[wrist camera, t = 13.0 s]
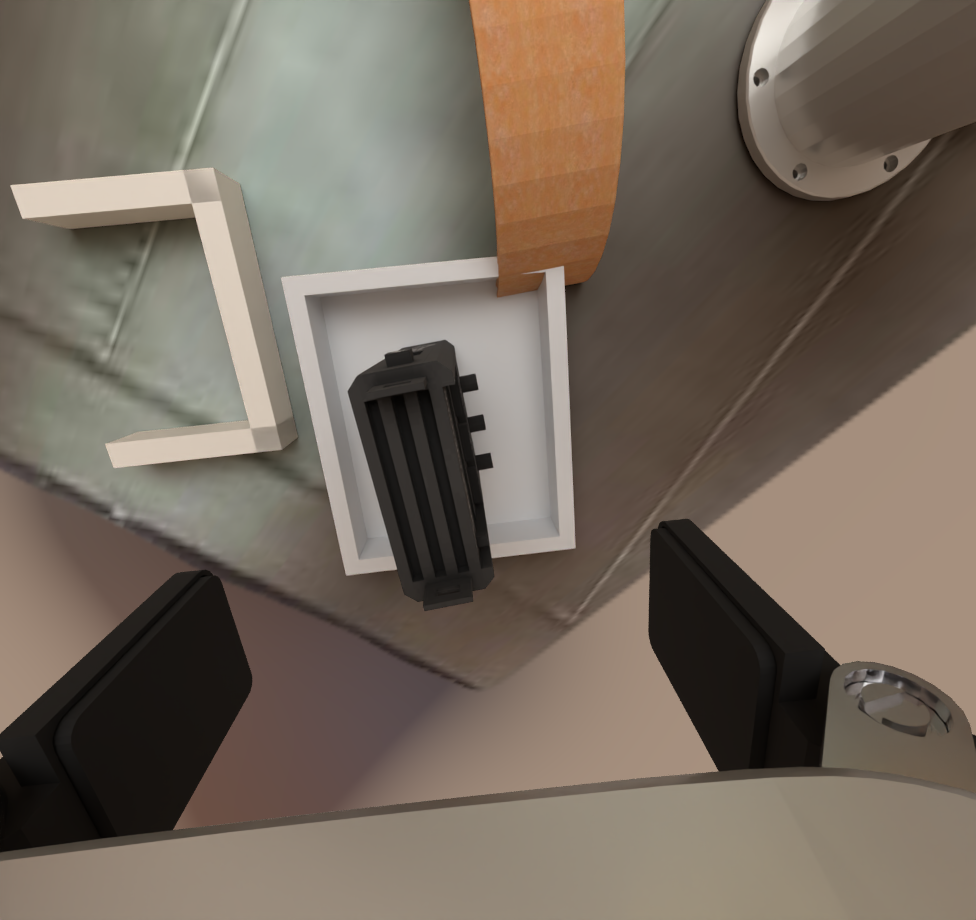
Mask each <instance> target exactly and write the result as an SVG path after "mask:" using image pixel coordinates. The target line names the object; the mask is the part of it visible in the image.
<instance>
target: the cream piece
mask: <svg viewBox="0 0 976 920" xmlns="http://www.w3.org/2000/svg"><path fill="white" fill-rule="evenodd" d="M10 186H11V188H12V191H13V194H14V197H15V199H16V202H17V205H18V207H19V210H20V213H21V216H22V218H23V219H26V220H31V221H35V222H40V223H44V224H49V225H53V226H58V227H62V228H67V229H77V228H88V227H99V226H110V225H121V224H131V223H142V222H153V221H164V220H175V219H186V218H196V221H197V225H198V229H199V233H200V237H201V240H202V244H203V248H204V252H205V256H206V260H207V263H208V267H209V271H210V275H211V279H212V282H213V286H214V290H215V294H216V298H217V302H218V305H219V309H220V313H221V317H222V321H223V324H224V328H225V332H226V336H227V340H228V344H229V347H230V351H231V355H232V359H233V363H234V366H235V370H236V374H237V378H238V382H239V386H240V389H241V393H242V397H243V401H244V405H245V408H246V412H247V416H248V420H244V421H235V422H226V423H216V424H207V425H197V426H188V427H179V428H169V429H160V430H150V431H141V432H137V433H134V434H131V435H129V436H126V437H123V438H120V439H118V440H115V441H112V442H109V443H107V444H105V445H106V448H107V450H108V453H109V456H110V459H111V461H112V464H113V467H114V468H119V467H128V466H137V465H146V464H155V463H165V462H174V461H183V460H192V459H201V458H211V457H220V456H229V455H238V454H247V453H256V452H266V451H275V450H282V449H284V448H285V447H286V446H287V445H289V444H290V443H291V442H293V441H294V440H295V439H297V438H298V434H297V430H296V425H295V421H294V417H293V412H292V408H291V404H290V399H289V395H288V391H287V386H286V382H285V378H284V373H283V369H282V365H281V360H280V356H279V352H278V347H277V343H276V339H275V334H274V330H273V326H272V321H271V317H270V313H269V308H268V304H267V300H266V295H265V291H264V287H263V282H262V278H261V274H260V269H259V265H258V261H257V256H256V252H255V248H254V243H253V239H252V235H251V230H250V226H249V222H248V217H247V213H246V209H245V204H244V200H243V196H242V191H241V187H240V184H239V183H238V182H236V181H235V180H233V179H231V178H230V177H228V176H226V175H225V174H223V173H221V172H220V171H218V170H216V169H215V168H202V169H191V170H180V171H168V172H157V173H145V174H134V175H123V176H111V177H100V178H89V179H77V180H66V181H55V182H43V183H32V184H20V185H10Z"/></svg>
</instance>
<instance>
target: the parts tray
mask: <svg viewBox="0 0 976 920" xmlns="http://www.w3.org/2000/svg"><path fill="white" fill-rule="evenodd" d="M542 272H545V273H544V277H543V280H542V282H541V284H540V286H539V288H538V290H535V291H529V292H524V293H519V294H514V295H509V296H503V297H498V298H497V289H498V288H497V287H496V279H497V278H498V277H499V275H498V263H497V256H496V257H485V258H475V259H464V260H454V261H444V262H433V263H423V264H412V265H402V266H392V267H381V268H371V269H361V270H350V271H340V272H329V273H319V274H309V275H298V276H288V277H281V280H282V284H283V289H284V293H285V298H286V303H287V307H288V312H289V316H290V321H291V325H292V330H293V335H294V339H295V344H296V348H297V353H298V358H299V362H300V367H301V371H302V376H303V380H304V385H305V390H306V394H307V399H308V403H309V408H310V413H311V417H312V422H313V426H314V431H315V435H316V440H317V445H318V449H319V454H320V458H321V463H322V467H323V472H324V477H325V481H326V486H327V490H328V495H329V500H330V504H331V509H332V513H333V518H334V522H335V527H336V532H337V536H338V541H339V545H340V550H341V555H342V559H343V564H344V568H345V573H346V575H354V574H363V573H371V572H380V571H388V570H397V567H396V564H395V560H394V556H393V553H392V549H391V546H390V542H389V539H388V535H387V531H386V528H385V524H384V521H383V517H382V514H381V510H380V506H379V503H378V499H377V496H376V492H375V489H374V485H373V481H372V478H371V474H370V471H369V467H368V464H367V460H366V456H365V453H364V449H363V446H362V442H361V439H360V435H359V431H358V428H357V424H356V421H355V417H354V413H353V410H352V406H351V403H350V399H349V396H348V392H347V391H348V390H349V388H350V386H351V385H352V383H353V381H354V380H355V378H356V376H357V375H359V374H360V373H362V372H364V371H365V370H367V369H369V368H370V367H372V366H374V365H375V364H377V363H378V362H380V361H382V360H383V359H385V356H384V355H385V354H386V353H389V352H394V351H398V350H400V349H401V348H405V347H410V346H415V345H420V344H426V343H431V342H436V341H441V340H447V341H448V342H450V343H451V344H452V345H454V348H455V353H456V361H457V366H458V371H459V376H465V375H470V374H476V378H477V384H478V389H479V390H476V391H471V392H466V393H463V396H464V401H465V406H466V411H467V416H468V417H471V416H476V415H481V414H483V416H484V421H485V426H486V430H483V431H477V432H472V433H471V436H472V441H473V446H474V451H475V455H480V454H485V453H491V458H492V463H493V468H490V469H485V470H479V474H480V481H481V488H482V495H483V502H484V509H485V515H486V522H487V529H488V536H489V543H490V550H491V557H492V558H498V557H506V556H515V555H523V554H532V553H540V552H549V551H557V550H566V549H574V548H575V524H574V499H573V475H572V451H571V427H570V402H569V378H568V354H567V329H566V305H565V281H564V266H561V267H555V268H550V269H545V270H540V271H535V272H530V273H542ZM530 273H524V274H530Z"/></svg>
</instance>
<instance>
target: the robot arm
mask: <svg viewBox="0 0 976 920" xmlns="http://www.w3.org/2000/svg"><path fill="white" fill-rule="evenodd" d="M737 98H738V115H739V121H740V125H741V130H742V134H743V138H744V141H745V143H746V146H747V148H748V150H749V152H750V155H751V157H752V159H753V161H754V162H755V163H756V165H757V166H758V168H759V169H760V170H761V172H762V173H763V175H764V176H765V177H767V178H768V179H769V180H770V181H771V182H772V183H773V184H774V185H776V186H777V187H778V188H780V189H782V190H783V191H785V192H787V193H789V194H791V195H793V196H796V197H799V198H803V199H807V200H811V201H832V200H837V199H842V198H847V197H851V196H854V195H857V194H860V193H863V192H866V191H869V190H871V189H873V188H875V187H877V186H879V185H881V184H883V183H885V182H886V181H888V180H890V179H891V178H893V177H894V176H895V175H896V174H898V173H899V172H900V171H902V170H903V169H904V168H906V167H907V166H908V165H909V164H910V163H911V162H912V161H913V160H914V159H915V158H916V157H917V156H918V155H919V154H920V153H921V152H922V151H923V150H924V148H925V147H926V146H927V144H928V143H929V142H930V140H931V139H932V138H934V137H936V136H939V135H942V134H944V133H947V132H950V131H952V130H955V129H958V128H960V127H963V126H966V125H969V124H971V123H974V122H976V0H766V2H765V3H764V5H763V7H762V8H761V10H760V12H759V13H758V15H757V17H756V19H755V22H754V24H753V26H752V29H751V31H750V34H749V36H748V39H747V41H746V45H745V48H744V52H743V56H742V60H741V64H740V70H739V80H738V90H737ZM649 586H650V587H649V588H650V589H649V639H650V643H651V646H652V649H653V651H654V653H655V654H656V656H657V658H658V660H659V662H660V664H661V665H662V667H663V669H664V671H665V673H666V675H667V676H668V678H669V680H670V682H671V684H672V686H673V688H674V689H675V691H676V693H677V695H678V697H679V698H680V701H681V702H682V704H683V706H684V708H685V710H686V712H687V713H688V715H689V717H690V719H691V721H692V723H693V725H694V726H695V728H696V730H697V732H698V733H699V736H700V737H701V739H702V741H703V743H704V745H705V747H706V749H707V750H708V752H709V754H710V756H711V758H712V760H713V761H714V763H715V765H716V767H717V769H718V771H719V772H708V773H696V774H685V775H675V776H662V777H651V778H640V779H630V780H621V781H611V782H601V783H592V784H582V785H573V786H563V787H555V788H544V789H535V790H525V791H516V792H506V793H497V794H487V795H478V796H470V797H461V798H451V799H442V800H433V801H424V802H415V803H406V804H397V805H389V806H379V807H370V808H362V809H352V810H343V811H335V812H325V813H317V814H309V815H299V816H290V817H282V818H272V819H264V820H256V821H248V822H239V823H230V824H221V825H213V826H205V827H196V828H188V829H179V830H173V829H174V827H175V825H176V823H177V821H178V820H179V818H180V816H181V814H182V813H183V811H184V809H185V807H186V805H187V804H188V802H189V800H190V798H191V796H192V795H193V793H194V791H195V789H196V788H197V786H198V784H199V782H200V780H201V779H202V777H203V775H204V773H205V772H206V770H207V768H208V766H209V764H210V763H211V761H212V759H213V757H214V755H215V754H216V752H217V750H218V748H219V746H220V745H221V743H222V741H223V739H224V738H225V736H226V734H227V732H228V730H229V729H230V727H231V725H232V723H233V722H234V720H235V718H236V716H237V715H238V713H239V711H240V709H241V707H242V706H243V704H244V702H245V700H246V698H247V697H248V695H249V693H250V691H251V687H252V674H251V671H250V668H249V665H248V662H247V658H246V655H245V653H244V649H243V646H242V644H241V640H240V637H239V634H238V631H237V628H236V625H235V622H234V619H233V616H232V613H231V610H230V607H229V604H228V601H227V597H226V594H225V591H224V588H223V585H222V582H221V580H220V578H219V577H218V576H213V574H212V573H211V572H210V571H208V570H199V571H189V572H180V573H176V574H174V575H173V576H172V577H171V578H170V579H169V580H167V581H166V582H165V583H164V584H163V585H162V586H161V587H160V588H159V589H158V590H156V591H155V592H154V593H153V594H152V595H151V596H150V597H149V598H148V599H147V600H146V601H145V602H143V603H142V604H141V605H140V606H139V607H138V608H137V609H136V610H135V611H134V612H132V613H131V614H130V615H129V616H128V617H127V618H126V619H125V620H124V621H123V622H122V623H120V624H119V626H117V627H116V628H115V629H114V630H113V631H112V632H111V633H110V634H108V635H107V636H106V637H105V638H104V639H103V640H102V641H101V642H100V643H99V644H98V645H96V647H94V648H93V649H92V650H91V651H90V652H89V653H88V654H87V655H86V656H85V657H83V658H82V659H81V660H80V661H79V662H78V663H77V664H76V665H75V666H74V667H72V668H71V669H70V670H69V671H68V672H67V673H66V674H65V675H64V676H63V677H62V678H61V679H60V680H58V681H57V682H56V683H55V684H54V685H53V686H52V687H51V688H50V689H49V690H47V691H46V692H45V693H44V694H43V695H42V696H41V697H40V698H39V699H38V700H37V701H35V702H34V703H33V704H32V705H31V706H30V707H29V708H28V709H27V710H26V711H25V712H23V713H22V714H21V715H20V716H19V717H18V718H17V719H16V720H15V721H14V722H13V723H11V724H10V725H9V726H8V727H7V728H6V729H5V730H4V731H3V732H2V733H1V734H0V752H1V753H2V755H3V757H2V758H1V759H0V920H976V736H975V735H973V734H972V732H971V727H970V724H969V722H968V720H967V718H966V716H965V714H964V712H963V710H962V709H961V708H960V707H959V706H958V705H957V704H956V703H955V702H954V701H953V700H952V698H950V697H949V696H948V695H946V694H945V693H944V692H942V691H941V690H940V689H938V688H937V687H936V686H934V685H933V684H931V683H929V682H927V681H925V680H923V679H921V678H920V677H918V676H916V675H914V674H912V673H909V672H906V671H904V670H901V669H898V668H895V667H893V666H888V665H884V664H879V663H875V662H860V661H856V662H851V663H845V664H842V665H840V664H839V663H838V662H836V661H835V660H834V659H833V658H832V657H831V656H830V655H829V654H828V653H827V652H826V651H825V649H824V648H823V647H822V646H821V645H820V644H819V643H818V642H817V641H816V640H815V639H814V638H813V637H812V636H811V635H810V634H809V633H808V632H807V631H806V630H804V629H803V628H802V627H801V626H800V625H799V624H798V623H797V622H796V621H795V620H794V619H793V618H792V617H791V616H790V615H789V614H788V613H787V612H786V611H785V610H784V609H783V608H782V607H780V606H779V605H778V604H777V603H776V602H775V601H774V600H773V599H772V598H771V597H770V596H769V595H768V594H767V593H766V592H765V591H764V590H763V589H761V587H760V586H759V585H757V584H756V583H755V582H754V581H753V580H752V579H751V578H750V577H749V576H748V575H747V574H746V573H745V572H744V571H743V570H742V569H741V568H740V567H739V566H738V565H737V564H736V563H735V562H733V561H732V560H731V559H730V558H729V557H728V556H727V555H726V554H725V553H724V552H723V551H722V550H721V549H720V548H719V547H718V546H717V545H716V544H715V543H714V542H713V541H712V540H711V539H710V538H709V537H707V536H706V535H705V534H704V533H703V532H702V531H701V530H700V529H699V528H698V527H697V526H696V525H695V524H694V523H693V522H692V521H691V520H689V519H681V520H671V521H662V522H660V523H659V526H658V529H653V530H652V531H651V539H650V585H649Z"/></svg>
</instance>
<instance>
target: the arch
mask: <svg viewBox="0 0 976 920" xmlns="http://www.w3.org/2000/svg"><path fill="white" fill-rule="evenodd" d="M469 5H470V11H471V18H472V24H473V31H474V37H475V44H476V51H477V59H478V66H479V73H480V80H481V87H482V95H483V103H484V112H485V120H486V128H487V136H488V145H489V155H490V164H491V174H492V184H493V196H494V207H495V220H496V237H497V263H498V275H499V277H498V278H497V279H496V287H497V288H498V289H497V298H498V297H503V296H509V295H514V294H519V293H524V292H529V291H535V290H538V288H539V286H540V284H541V282H542V280H543V277H544V273H545V272H542V273H530V272H535V271H540V270H545V269H550V268H555V267H561V266H564V281H565V285H571V284H576V283H581V282H585V281H587V280H588V279H589V278H590V277H591V275H592V274H593V273H594V272H595V270H596V267H597V265H598V263H599V261H600V259H601V257H602V254H603V251H604V247H605V244H606V241H607V237H608V234H609V229H610V225H611V220H612V215H613V210H614V205H615V199H616V191H617V183H618V176H619V168H620V159H621V146H622V132H623V119H624V87H625V31H624V0H469ZM524 273H530V274H524Z"/></svg>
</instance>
